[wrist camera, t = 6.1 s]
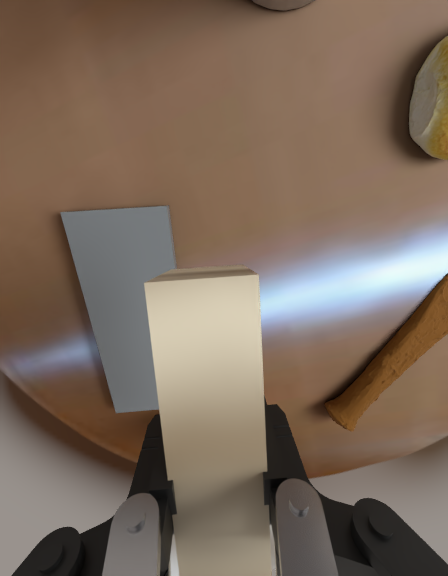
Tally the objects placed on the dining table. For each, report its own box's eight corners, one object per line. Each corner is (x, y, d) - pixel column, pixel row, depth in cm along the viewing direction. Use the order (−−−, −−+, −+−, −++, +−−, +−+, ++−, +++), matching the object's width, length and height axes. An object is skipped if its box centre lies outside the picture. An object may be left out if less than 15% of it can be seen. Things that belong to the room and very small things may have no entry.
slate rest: (67, 211, 19) (60, 212, 18) (168, 205, 20) (166, 205, 19) (119, 405, 26) (116, 412, 25) (193, 399, 27) (192, 406, 26)
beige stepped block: (135, 272, 10) (85, 286, 6) (277, 262, 10) (314, 270, 6) (171, 559, 13) (151, 699, 9) (286, 548, 13) (317, 681, 9)
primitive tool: (449, 266, 23) (488, 278, 20) (481, 295, 25) (523, 311, 21) (315, 400, 28) (329, 427, 25) (348, 418, 30) (366, 446, 26)
